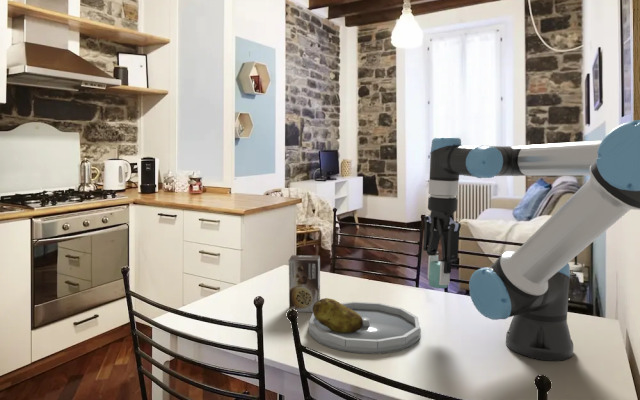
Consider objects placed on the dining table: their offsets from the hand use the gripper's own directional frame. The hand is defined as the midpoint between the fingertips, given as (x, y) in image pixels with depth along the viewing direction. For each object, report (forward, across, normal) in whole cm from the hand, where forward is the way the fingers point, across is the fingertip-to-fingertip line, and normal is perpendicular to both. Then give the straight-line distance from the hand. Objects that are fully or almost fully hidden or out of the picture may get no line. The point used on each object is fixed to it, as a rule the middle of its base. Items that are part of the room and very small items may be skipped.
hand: (438, 281), depth 127 cm
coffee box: (+15, +27, +29) cm, 42 cm away
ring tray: (+14, +5, +19) cm, 24 cm away
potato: (+13, +5, +27) cm, 30 cm away
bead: (+1, 0, 0) cm, 1 cm away
